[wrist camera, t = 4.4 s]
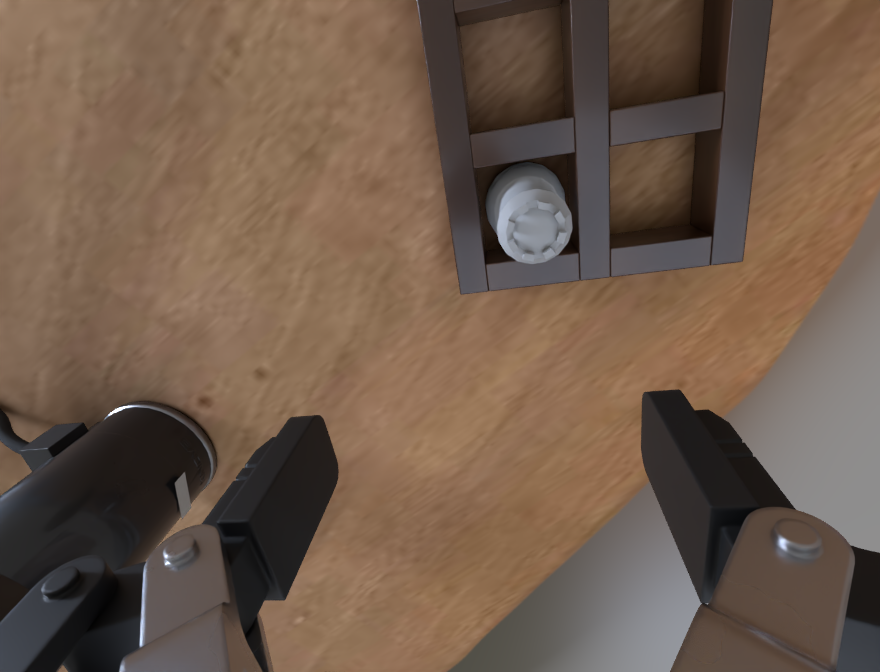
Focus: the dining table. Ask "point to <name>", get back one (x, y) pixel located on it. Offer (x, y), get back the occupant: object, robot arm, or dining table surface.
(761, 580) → the robot arm
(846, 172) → the dining table surface
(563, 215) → the rook chess piece
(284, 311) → the dining table surface
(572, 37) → the open grid frame
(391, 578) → the dining table surface
